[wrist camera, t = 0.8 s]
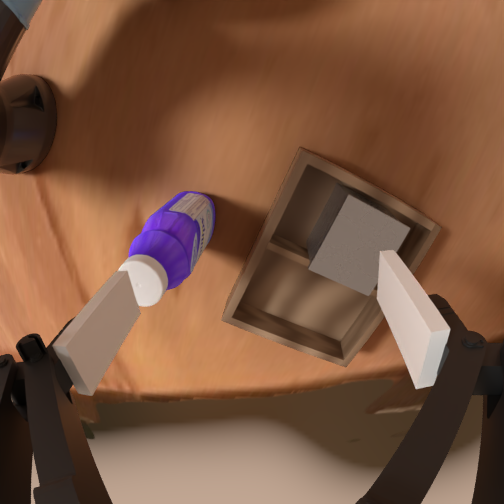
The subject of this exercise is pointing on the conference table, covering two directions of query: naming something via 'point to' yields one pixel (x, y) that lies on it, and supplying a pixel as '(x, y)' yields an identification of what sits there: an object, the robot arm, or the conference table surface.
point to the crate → (306, 281)
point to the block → (353, 239)
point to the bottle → (169, 246)
